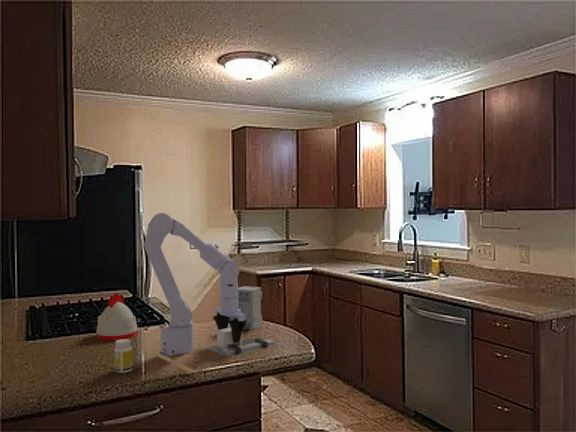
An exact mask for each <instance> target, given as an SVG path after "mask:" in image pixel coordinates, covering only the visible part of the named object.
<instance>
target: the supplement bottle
mask: <svg viewBox="0 0 576 432" xmlns="http://www.w3.org/2000/svg"><path fill="white" fill-rule="evenodd" d="M133 367H134V366H133V347H132V346H131V339H130V338H128V339H121V340H115V348H114V372H116V373H120V374H124V373H129V372H131V371H132V370H133Z"/></svg>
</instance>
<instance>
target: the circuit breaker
mask: <svg viewBox="0 0 576 432" xmlns="http://www.w3.org/2000/svg"><path fill="white" fill-rule="evenodd" d="M261 289H262V287H260V286H250V285H249V286H245V285H244V286H240V287H239V286H238V309H241V313H243V314H245V320H247V322H246V324H245V326H244V328H243V330H249V331H252V330H255V329H262V328H263V326H262V324H263V315H262V301H261V300H262V299H263V292H262V290H261ZM231 320H234V319H233V318H230V319H229V321H231Z"/></svg>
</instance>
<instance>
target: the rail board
mask: <svg viewBox="0 0 576 432" xmlns="http://www.w3.org/2000/svg"><path fill="white" fill-rule="evenodd" d="M279 345H281V344H280V343H277V342H275V341H274V340H272V339H266V338H262V337H260V336H257V337H252V338H246V339H243V345H237V344H235V343H232V344H228V345H227V349H222V348H220V347H217V345H215V346H211V347H207V348H206V349H207V350H210V351H212V352H215V353H216V354H220V355H222V356H224V357H227V358H229V357H233V356H237V355H242V354H246V353H250V352H254V351H255V352H256V351H259V350H262V349H267V348H270V347H272V348H273V347H275V346H276V347H277V346H279Z"/></svg>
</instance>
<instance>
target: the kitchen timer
mask: <svg viewBox="0 0 576 432" xmlns="http://www.w3.org/2000/svg"><path fill="white" fill-rule="evenodd" d="M122 296H123V295H120V293H119V292H116V293H113V295H110V296H109V299H107V303H108V306H106V307H105V308H104V310H103V311H102V313H101V315H99V316H98V317H97V326H96V334H95V335H96V336H97V337H96V339H97V338H98V339H97V340H99V339H102V340H101V341H106V340H114V341H117V340H121V339H131V338H135V337H136V336H138V332H139V331H138V325H137V322H136V320H137V319H136V316H135V315H134V314H133V312H132V311H131V309H130V308H129V307H128V306H127V305H126V304H124V303H125V302H124V301H125V298H124V297H122Z"/></svg>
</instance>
